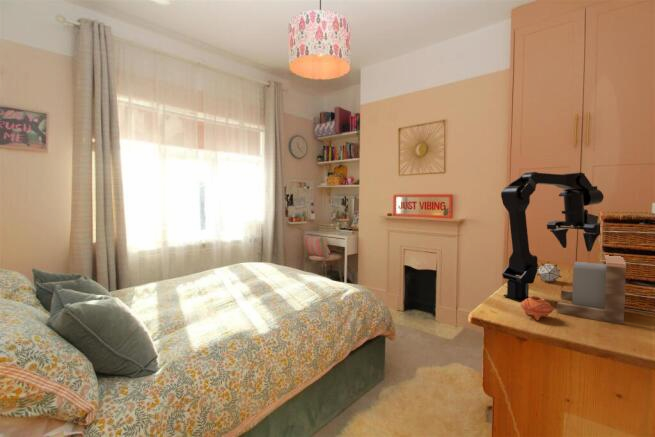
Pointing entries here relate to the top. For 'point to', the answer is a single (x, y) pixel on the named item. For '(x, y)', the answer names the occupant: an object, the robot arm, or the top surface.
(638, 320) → the top surface
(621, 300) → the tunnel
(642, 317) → the top surface
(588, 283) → the tall block
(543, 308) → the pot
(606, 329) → the top surface
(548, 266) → the game die
